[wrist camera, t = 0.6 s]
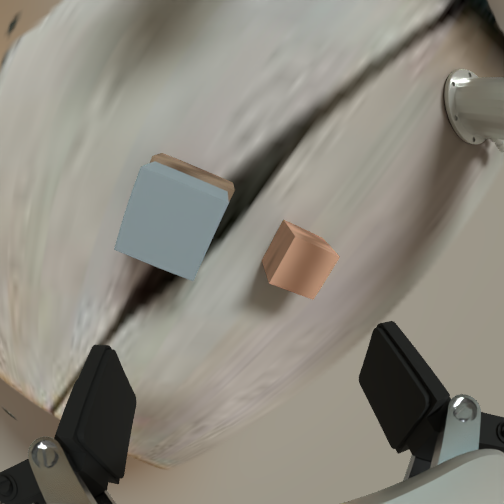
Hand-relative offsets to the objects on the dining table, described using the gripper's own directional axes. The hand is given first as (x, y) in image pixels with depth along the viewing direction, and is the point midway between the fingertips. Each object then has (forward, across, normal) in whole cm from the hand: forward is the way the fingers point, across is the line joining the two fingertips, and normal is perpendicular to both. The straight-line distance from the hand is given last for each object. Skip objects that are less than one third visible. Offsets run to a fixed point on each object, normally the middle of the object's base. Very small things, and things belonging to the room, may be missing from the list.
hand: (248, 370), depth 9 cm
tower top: (+21, +5, 0) cm, 22 cm away
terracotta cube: (+26, -8, +7) cm, 28 cm away
